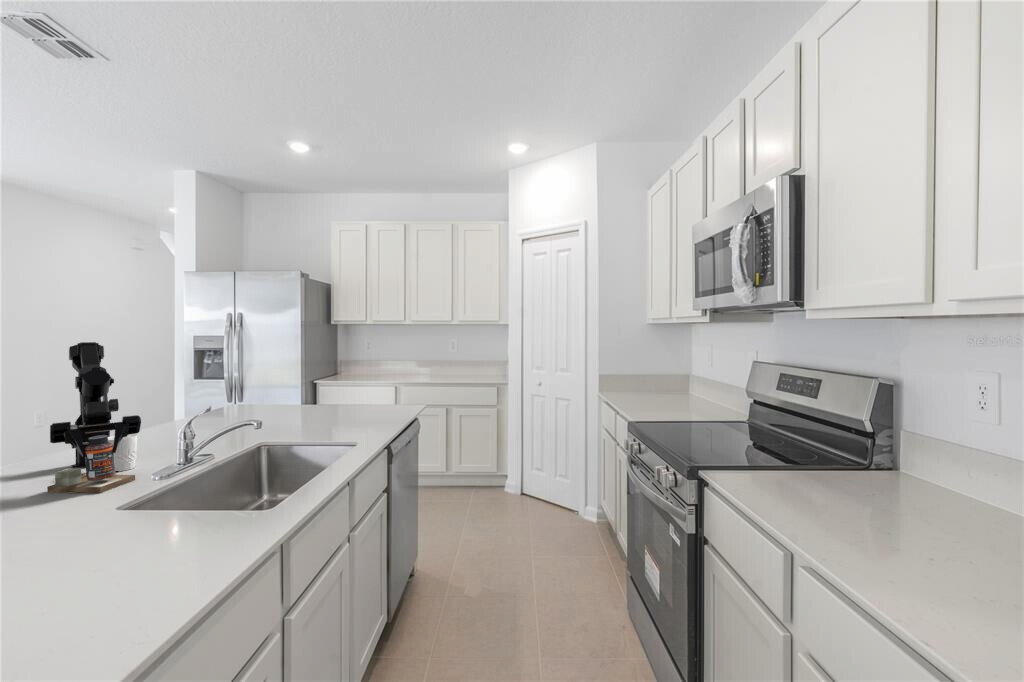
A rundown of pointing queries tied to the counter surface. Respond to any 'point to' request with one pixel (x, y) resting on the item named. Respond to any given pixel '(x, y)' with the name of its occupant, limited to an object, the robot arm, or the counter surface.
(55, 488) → the board
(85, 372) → the robot arm
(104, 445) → the supplement bottle
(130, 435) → the white cup
